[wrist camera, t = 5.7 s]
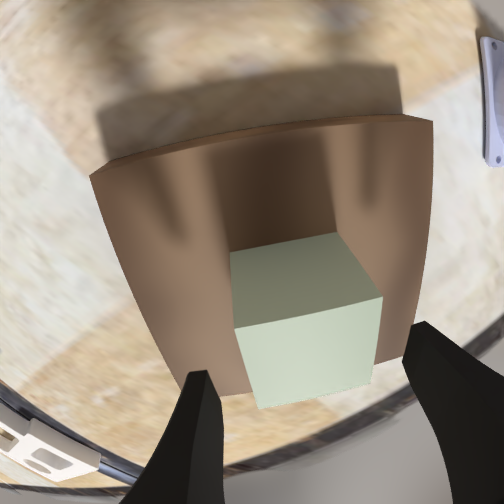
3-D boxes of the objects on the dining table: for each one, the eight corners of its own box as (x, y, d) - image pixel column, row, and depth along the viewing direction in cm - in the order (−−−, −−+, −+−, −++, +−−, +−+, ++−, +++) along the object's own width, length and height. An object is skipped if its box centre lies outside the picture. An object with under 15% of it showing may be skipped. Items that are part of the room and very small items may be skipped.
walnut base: (403, 114, 13) (432, 121, 10) (390, 330, 19) (405, 355, 17) (109, 161, 13) (89, 175, 10) (188, 370, 20) (186, 400, 17)
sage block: (336, 231, 13) (383, 296, 9) (338, 313, 15) (370, 383, 11) (229, 252, 13) (234, 329, 9) (248, 331, 15) (258, 409, 11)
